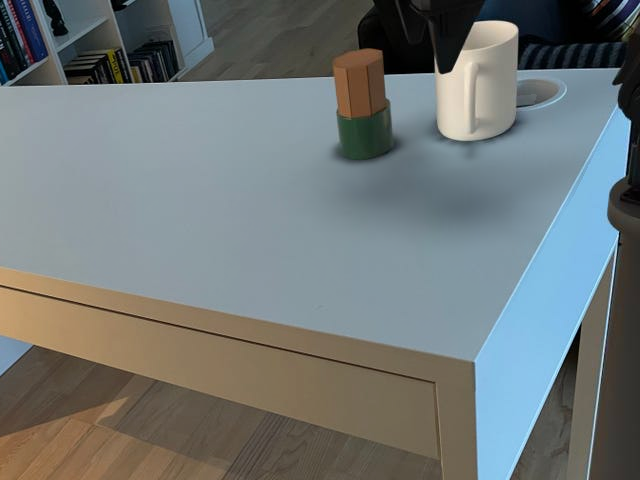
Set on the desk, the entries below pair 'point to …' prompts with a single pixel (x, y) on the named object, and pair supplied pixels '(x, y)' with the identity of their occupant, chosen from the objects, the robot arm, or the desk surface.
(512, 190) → the desk surface
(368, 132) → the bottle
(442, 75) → the cup
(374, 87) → the octagonal wooden prism
